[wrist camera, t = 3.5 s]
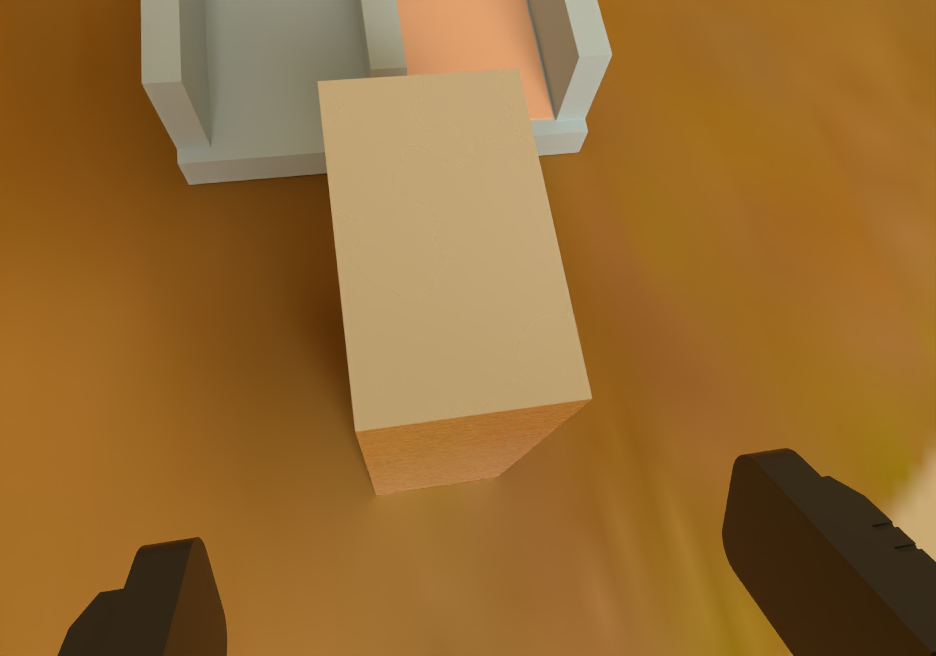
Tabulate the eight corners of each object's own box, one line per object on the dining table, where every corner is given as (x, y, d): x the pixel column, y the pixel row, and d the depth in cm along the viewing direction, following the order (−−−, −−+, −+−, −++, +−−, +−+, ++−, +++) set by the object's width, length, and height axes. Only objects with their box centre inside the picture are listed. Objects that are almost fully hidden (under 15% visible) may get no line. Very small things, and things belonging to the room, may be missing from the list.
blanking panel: (497, 477, 19) (591, 398, 10) (376, 495, 19) (355, 431, 9) (464, 286, 21) (519, 68, 12) (353, 298, 21) (317, 80, 11)
